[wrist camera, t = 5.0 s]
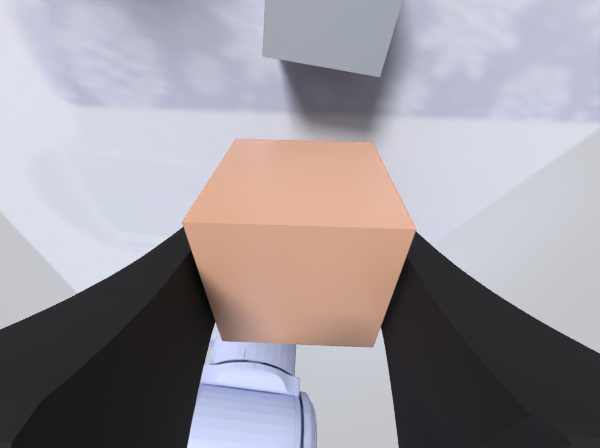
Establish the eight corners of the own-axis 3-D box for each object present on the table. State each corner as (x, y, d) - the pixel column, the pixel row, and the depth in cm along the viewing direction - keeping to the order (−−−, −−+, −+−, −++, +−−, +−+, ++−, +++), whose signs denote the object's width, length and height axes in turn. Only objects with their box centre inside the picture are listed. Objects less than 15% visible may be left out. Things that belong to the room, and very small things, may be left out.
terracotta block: (354, 244, 13) (373, 347, 9) (250, 241, 13) (222, 341, 9) (372, 142, 9) (416, 229, 6) (235, 139, 10) (182, 222, 6)
